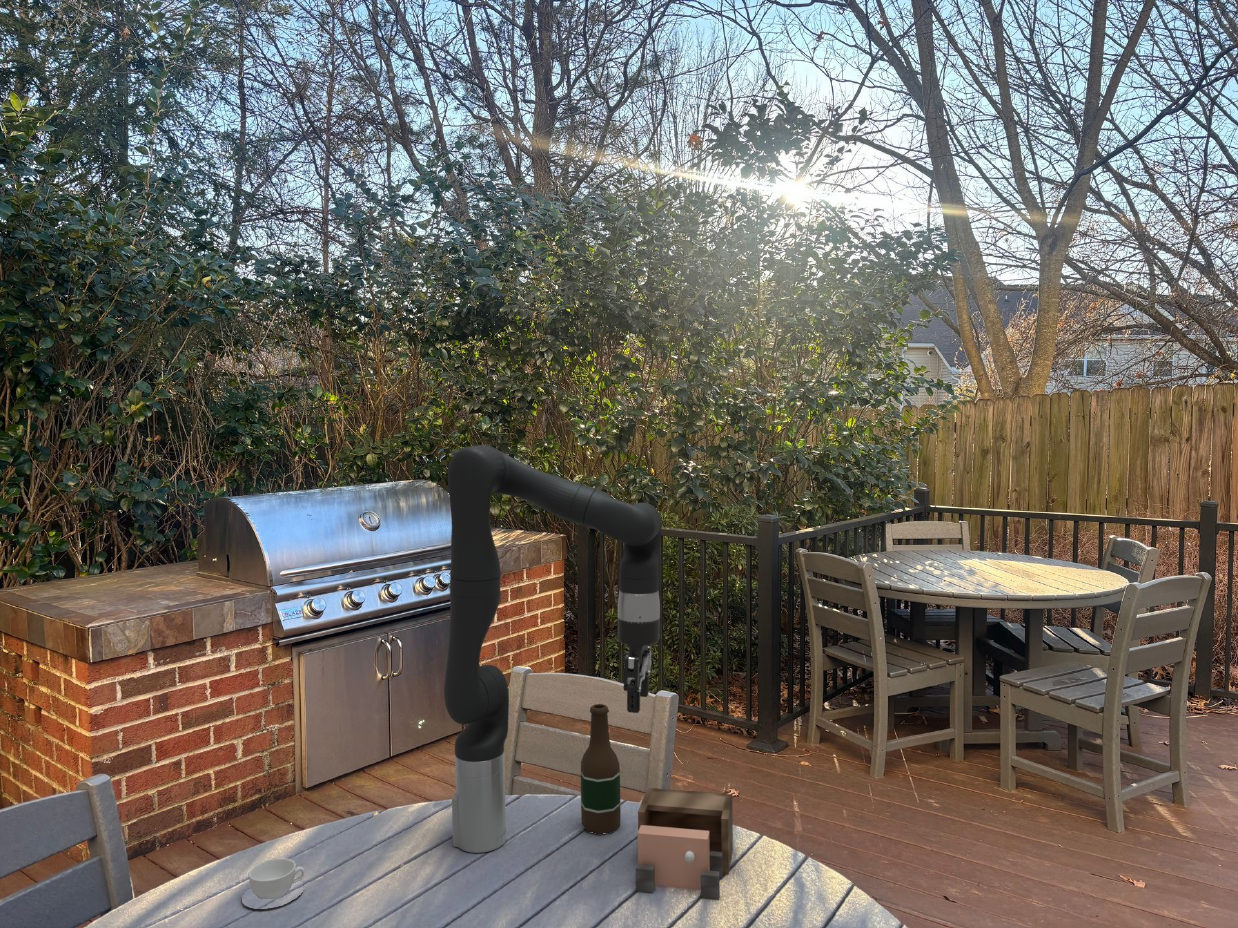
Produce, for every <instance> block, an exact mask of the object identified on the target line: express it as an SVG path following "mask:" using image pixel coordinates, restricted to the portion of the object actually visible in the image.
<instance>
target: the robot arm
mask: <svg viewBox="0 0 1238 928" xmlns="http://www.w3.org/2000/svg"><path fill="white" fill-rule="evenodd" d="M447 468H448V469H447V482H448V484H447V485H448V491H449V492H448V494H449V504H450V505H449V506H450V516H451V519H450V520H451V538H450V541H451V542H450V571H449V572H450V574H449V575H450V577H449V598H450V599H449V602H450V605H449V606H450V609H449V610H450V611H449V613H450V614H449V616H450V617H449V640H448V651H447V661H446V669H445V679H444V687H443V688H444V692H443V695H444V696H443V698H444V704H445V708H446V711H447V713H448V715H449V717H450V719H452V721H453V722H455V723H457V724H459V725H467V726H465V728H464V729H463V730H462V731H461V732H460V734H459V735H458V736H457V737H456V739H455V742H454V763H455V764H454V767H455V769H454V770H455V793H454V794H453V795H452V796H451V817H452V818H451V819H452V846H453V847H455V848H459V849H461V850H462V851H464V852H468V853H474V854H475V853H476V854H477V853H478V854H480V853H488V852H491V851H494V850H497V849H499V848H500V847H502V846H503V845H504V844H505V843H506V841H507V834H506V833H507V823H506V818H507V815H506V811H507V810H506V777H505V776H506V774H505V773H506V771H505V770H506V768H505V765H506V764H505V744H506V741H507V738H508V734H509V733H508V732H509V714H510V713H509V712H510V711H509V710H510V709H509V707H510V697H509V696H510V695H509V694H510V693H509V686H508V682H507V679H506V676H505V674H504V672H503V671H501V669H500V668H499V667H497V666H495V665H493V664H483V665H480V659H481V652H482V647H483V643H484V641H485V639H486V636H487V634H488V632H489V630H490V627H491V626H492V623H493V622H494V619H495V617H496V614H497V611H498V608H499V605H500V600H501V580H502V579H501V578H502V577H501V575H502V573H501V571H502V570H501V563H500V558H499V555H498V550H497V548H496V544H495V540H494V538H493V534H492V533H493V532H492V528H491V503H492V502H491V501H492V493H493V494H499V495H506V496H511V497H515V498H519V499H522V500H525V501H527V502H530V503H531V504H534V505H536V506H538V507H539V508H541V509H543V510H544V511H546V512H548V513H550V514H552V515H553V516H556V517H558V518H559V519H563V520H565V521H568V522H571V523H574V524H577V525H580V526H582V527H586V528H589V529H594V530H596V531H598V532H600V534H604V535H605V536H608V537H609V538H611V539H613V540H615V541H618V542H619V543H623V557H622V559H621V562H620V565H619V576H618V577H619V578H618V579H619V580H618V581H619V582H618V583H619V589H618V599H617V640H618V642H620V644H623V645H626V646H628V647H629V648H628V652H626V653H625V656H624V658H623V662H624V664H623V665H624V667H623V688H622V689H623V691H624V692H626V699H627V700H626V711H627V713H631V714H632V713H633V714H638V713H639V712H640V710H641V697H642V698H647V697H648V696H649V693H650V692H649V686H650V685H649V677H650V674H651V670H652V668H653V664H652V655H653V654H652V646H653V645H655V644H657V643H658V642H659V641H660V638H661V637H660V636H661V635H660V630H661V629H660V628H661V627H660V626H661V625H660V624H661V620H660V619H661V618H660V617H661V616H660V615H661V612H660V611H661V605H660V604H661V602H660V595H659V590H660V589H659V588H660V587H659V586H660V585H659V583H660V581H659V577H660V576H659V575H660V574H659V571H660V570H659V557H660V551H661V550H660V549H661V542H662V530H663V529H662V526H663V525H662V517H661V514H660V512H659V510H658V509H657V508H656V507H655V506H654V505H652V504H650V503H647V502H638V503H635V504H630V503H627V502H625V501H622V500H619V499H615V498H612V497H611V495H610V494H608V493H607V492H605V491H603V490H600V489H597V488H594V487H592V486H588V485H585V484H583V483H579V482H576V481H573V480H569V479H566V478H564V477H560V476H557V475H553V474H551V473H547V472H545V471H542V470H540V469H537V468H535V467H532V466H531V465H528V464H525V463H524V462H521V461H519V460H517V459H515V458H513V457H512V456H511V455H508V454H506V453H504V452H503V451H501V450H498V449H497V448H496V447H493V446H491V445H484V444H483V445H482V444H480V445H479V444H478V445H472V446H466V447H462V448H460V449H459V450H458V451H456V452H455V453H454V454H453V456H452V457H451V459H450V461H449V463H448V467H447ZM632 680H634V684H632V683H631V681H632Z"/></svg>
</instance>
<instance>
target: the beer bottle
mask: <svg viewBox="0 0 1238 928" xmlns="http://www.w3.org/2000/svg"><path fill="white" fill-rule="evenodd" d="M589 712H590V732H589V733H590V735H589V743H588V744H589V745H588V746H587V749H586V750H585V752H584V753H583V755H582V758H581V761H580V813H581V814H580V815H581V817H580V818H581V824H582V827H583V826H584V827H583V828H584V830H585V832H586V831H588V832H593V833H596V834H603V833H609V834H611V833H610V832H613V831H614V832H615V831H616V830H617V829H619V827H620V826H621V817H622V816H621V815H622V814H621V813H622V812H621V770H620V769H621V768H620V760H619V758H618V757H617V754H616V753H615V751H614V749H613V748H612V747H611V746H612V744H611V740H610V732H609V731H610V729H609V717H608V713H610V710H609V707H608V706H607V705H606V704H603V703H597V704H596V703H595V704H593V705H591V706H590V709H589ZM588 832H587V833H588ZM614 832H613V833H614ZM596 834H595V835H596ZM603 835H604V834H603Z"/></svg>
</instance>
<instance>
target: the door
mask: <svg viewBox="0 0 1238 928" xmlns="http://www.w3.org/2000/svg"><path fill="white" fill-rule="evenodd" d="M637 864H645V865H655V887H663V886H665V887H664V888H673V889H674V888H675V889H683V890H684V889H686V890H695V891H701V870H707V871H710V845H709V831H704V830H693V829H681V828H670V827H658V826H646V825H641V826H640V828H639V831H638V830H637Z"/></svg>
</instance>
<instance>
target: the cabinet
mask: <svg viewBox="0 0 1238 928" xmlns="http://www.w3.org/2000/svg"><path fill="white" fill-rule="evenodd" d="M733 798H734V796H733V793H721V792H710V791H696V790H695V791H693V790H683V789H681V790H679V789H672V788H671V789H667V788H656V787H655V788H654V787H647V788H646V791H645V793H644V796H643V798H642V801H641V803H640V806H639V809H638V811H637V832H638V831H639V828H640V826H641V825H646V826H658V827H670V828H681V829H693V830H704V831H709V845H710V871H707V870H701V890H700V898H701V899H707V900H708V899H709V900H715V901H716V900H717V901H719V900H720V896H721V895H720V889H721V888H720V886H721V884H720V882H721V880H723V877H724V876H729V874H730V869H731V862H732V855H733V848H734V844H733V843H734V842H733V841H734V840H733V839H734V838H733V837H734V835H733V834H734V832H733V830H734V823H733V821H734V820H733V819H734V818H733V815H734V814H733V813H734V812H733V810H734V809H733ZM655 889H656V886H655V865H645V864H638V863H636V866H635V892H636V893H637V892H638V893H647V894H649V893H650V894H654V892H655Z"/></svg>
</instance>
